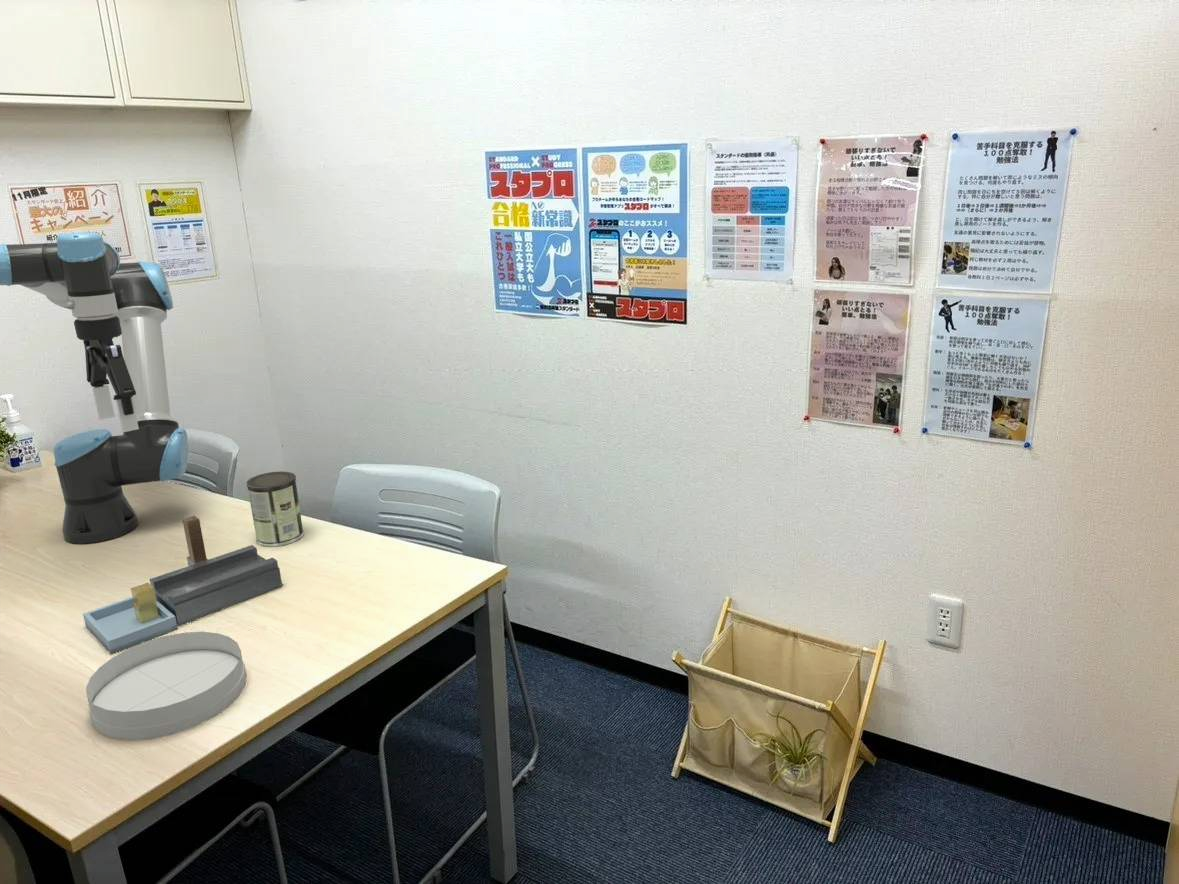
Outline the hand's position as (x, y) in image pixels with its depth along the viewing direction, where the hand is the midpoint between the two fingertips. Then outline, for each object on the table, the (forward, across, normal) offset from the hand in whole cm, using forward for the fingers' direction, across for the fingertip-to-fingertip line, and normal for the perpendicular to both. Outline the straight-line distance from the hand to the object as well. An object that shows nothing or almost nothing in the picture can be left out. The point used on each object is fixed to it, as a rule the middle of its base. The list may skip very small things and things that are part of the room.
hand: (118, 424), depth 162 cm
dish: (+32, +50, -14) cm, 61 cm away
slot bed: (+32, +23, +5) cm, 39 cm away
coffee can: (+32, +6, +26) cm, 42 cm away
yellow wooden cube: (+29, +23, -7) cm, 38 cm away
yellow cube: (+28, +23, -8) cm, 37 cm away
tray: (+32, +23, -11) cm, 41 cm away
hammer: (+32, +10, +7) cm, 34 cm away
